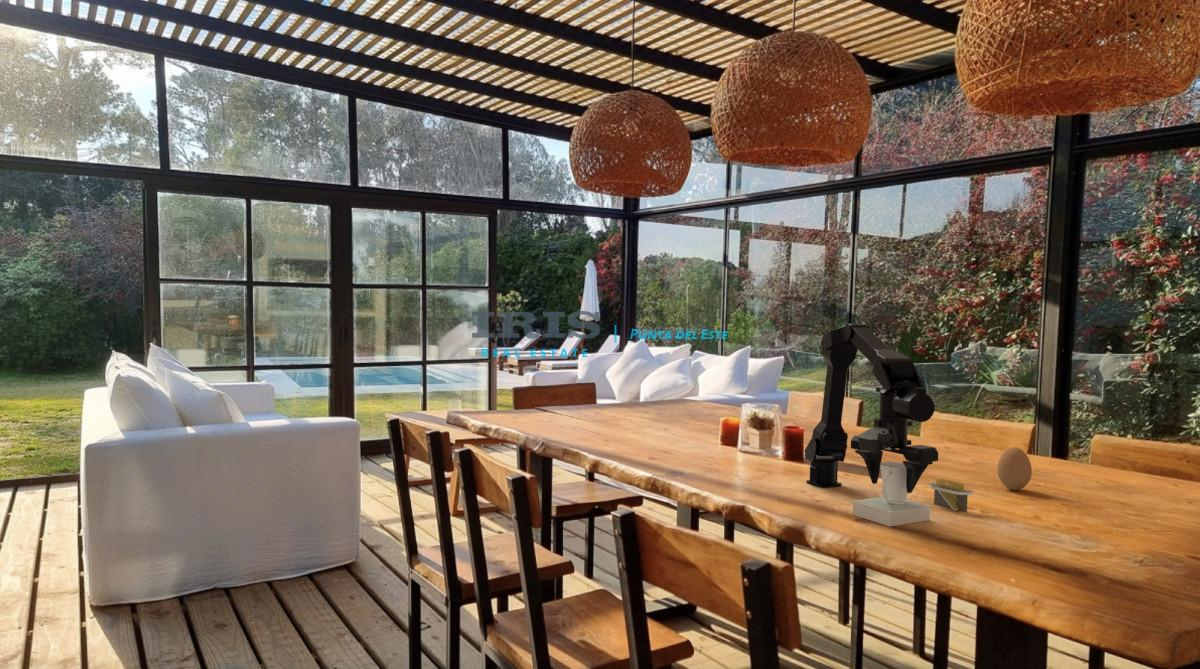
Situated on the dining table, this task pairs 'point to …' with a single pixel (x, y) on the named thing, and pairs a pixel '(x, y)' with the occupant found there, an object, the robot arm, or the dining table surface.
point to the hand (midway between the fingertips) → (891, 488)
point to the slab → (891, 511)
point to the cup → (893, 482)
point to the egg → (1014, 469)
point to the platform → (950, 495)
